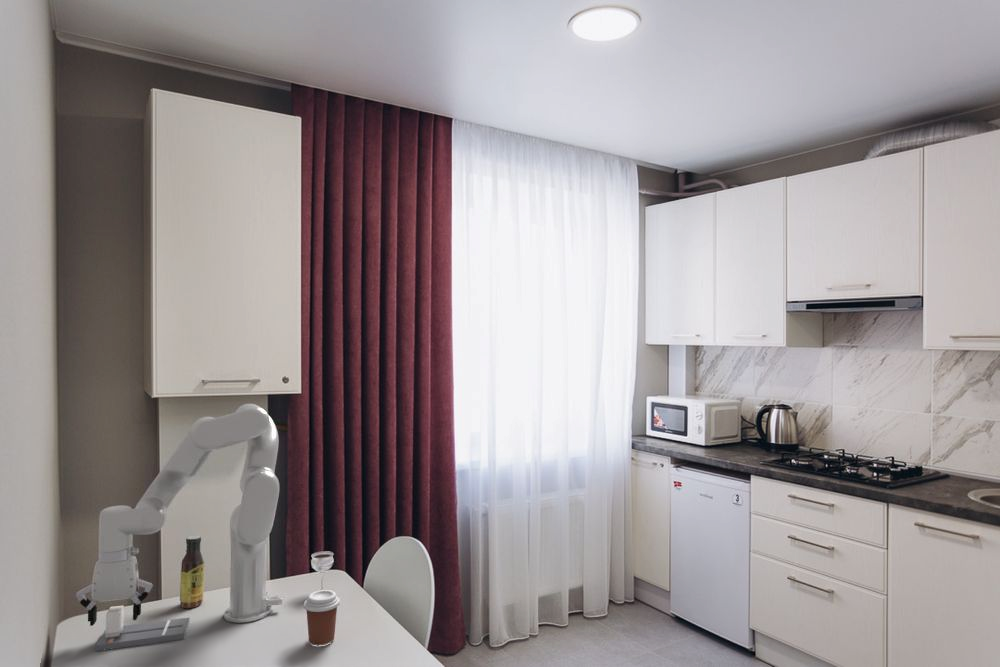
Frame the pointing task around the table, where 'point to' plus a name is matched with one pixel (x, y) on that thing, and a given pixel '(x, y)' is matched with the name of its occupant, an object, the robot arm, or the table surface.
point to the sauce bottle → (192, 574)
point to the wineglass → (322, 562)
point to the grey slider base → (146, 634)
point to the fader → (114, 621)
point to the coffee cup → (321, 616)
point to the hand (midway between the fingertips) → (114, 620)
